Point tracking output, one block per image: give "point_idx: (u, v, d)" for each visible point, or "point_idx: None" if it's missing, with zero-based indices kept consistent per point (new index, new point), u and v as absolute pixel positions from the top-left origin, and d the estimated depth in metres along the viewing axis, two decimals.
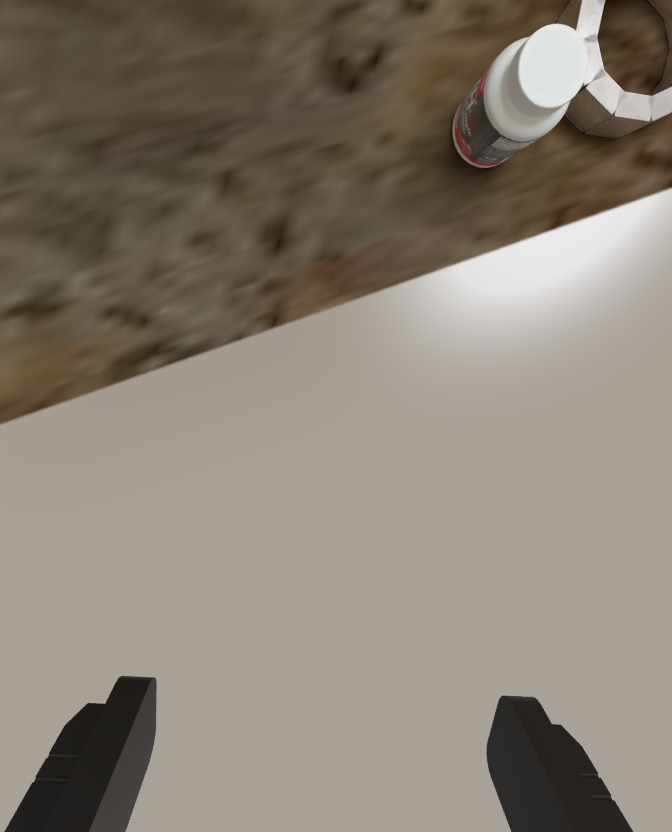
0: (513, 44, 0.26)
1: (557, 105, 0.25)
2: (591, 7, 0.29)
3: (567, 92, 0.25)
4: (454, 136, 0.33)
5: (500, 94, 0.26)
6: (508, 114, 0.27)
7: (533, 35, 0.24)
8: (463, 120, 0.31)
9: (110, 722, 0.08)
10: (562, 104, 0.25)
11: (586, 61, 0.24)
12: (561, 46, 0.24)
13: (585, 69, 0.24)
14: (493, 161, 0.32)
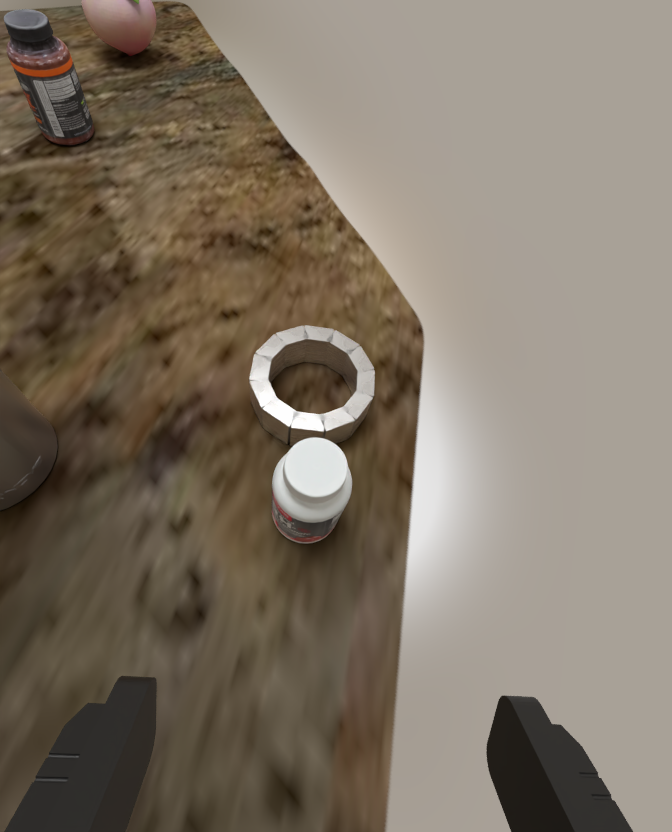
0: (274, 481, 0.29)
1: (346, 474, 0.27)
2: (275, 407, 0.36)
3: (340, 463, 0.28)
4: (297, 541, 0.34)
5: (305, 508, 0.28)
6: (324, 507, 0.28)
7: (286, 472, 0.27)
8: (294, 533, 0.32)
9: (110, 722, 0.08)
10: (347, 469, 0.27)
11: (326, 441, 0.28)
12: (306, 454, 0.27)
13: (331, 443, 0.28)
14: (337, 520, 0.34)
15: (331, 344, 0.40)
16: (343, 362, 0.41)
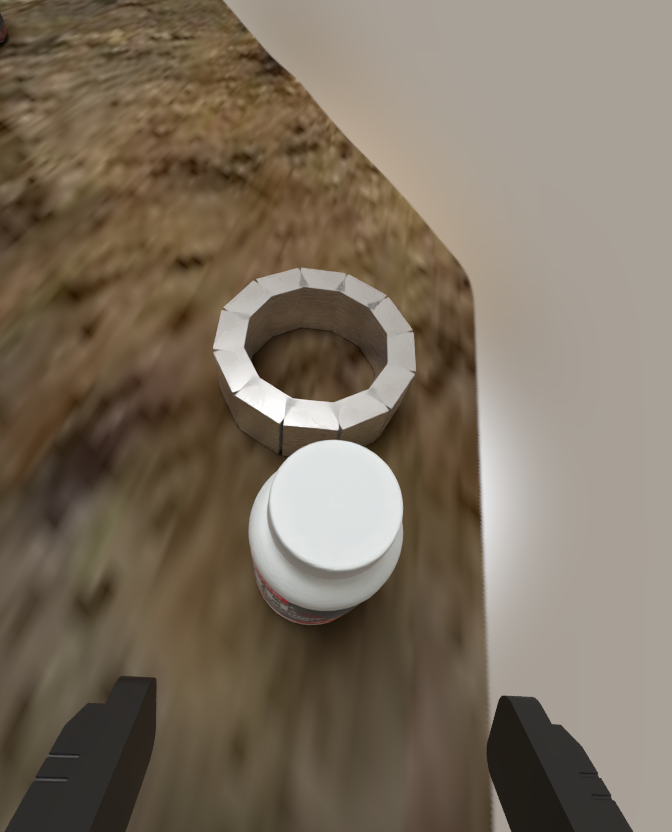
0: (252, 529, 0.15)
1: (400, 515, 0.13)
2: (256, 393, 0.21)
3: (387, 491, 0.13)
4: (299, 623, 0.19)
5: (316, 586, 0.14)
6: (354, 582, 0.14)
7: (273, 516, 0.12)
8: (294, 616, 0.18)
9: (110, 722, 0.08)
10: (401, 505, 0.13)
11: (355, 446, 0.14)
12: (314, 476, 0.13)
13: (366, 452, 0.14)
14: None
15: (343, 295, 0.26)
16: (362, 324, 0.26)
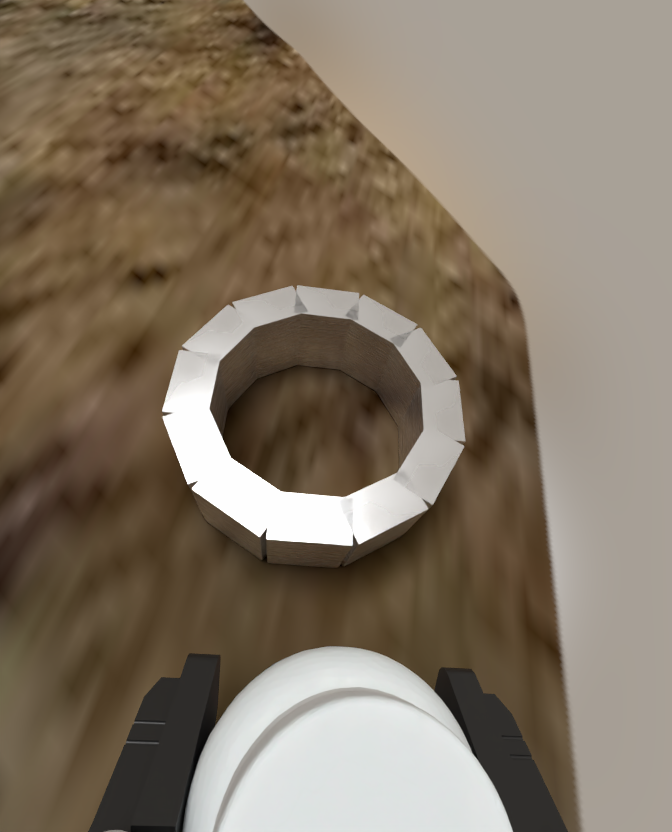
0: None
1: None
2: (225, 484, 0.14)
3: None
4: None
5: None
6: None
7: None
8: None
9: (188, 692, 0.09)
10: None
11: (407, 716, 0.06)
12: (315, 819, 0.05)
13: (432, 730, 0.06)
14: None
15: (356, 325, 0.18)
16: (382, 364, 0.19)
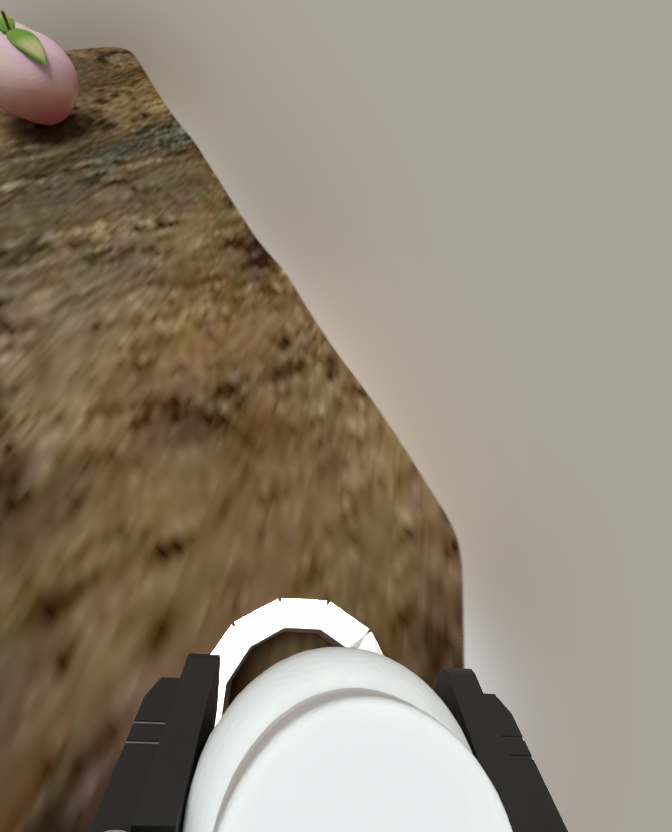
0: None
1: None
2: None
3: None
4: None
5: None
6: None
7: None
8: None
9: (188, 692, 0.09)
10: None
11: (407, 717, 0.06)
12: (315, 820, 0.05)
13: (432, 731, 0.06)
14: None
15: (324, 632, 0.25)
16: None
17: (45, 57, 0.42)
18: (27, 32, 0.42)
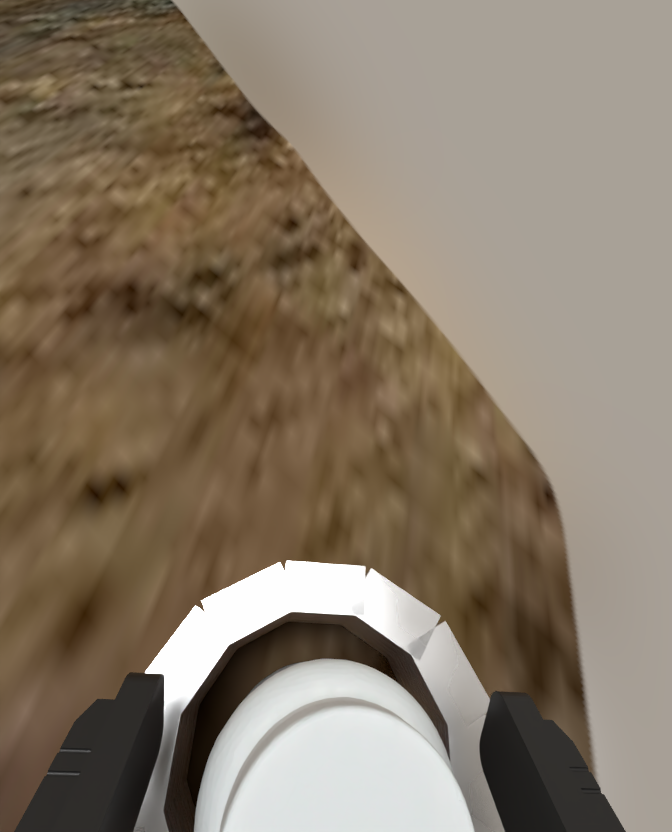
0: None
1: None
2: None
3: None
4: None
5: None
6: None
7: None
8: None
9: (120, 717, 0.08)
10: None
11: (385, 723, 0.07)
12: (307, 808, 0.07)
13: (405, 735, 0.07)
14: None
15: (362, 621, 0.14)
16: (394, 653, 0.15)
17: None
18: None
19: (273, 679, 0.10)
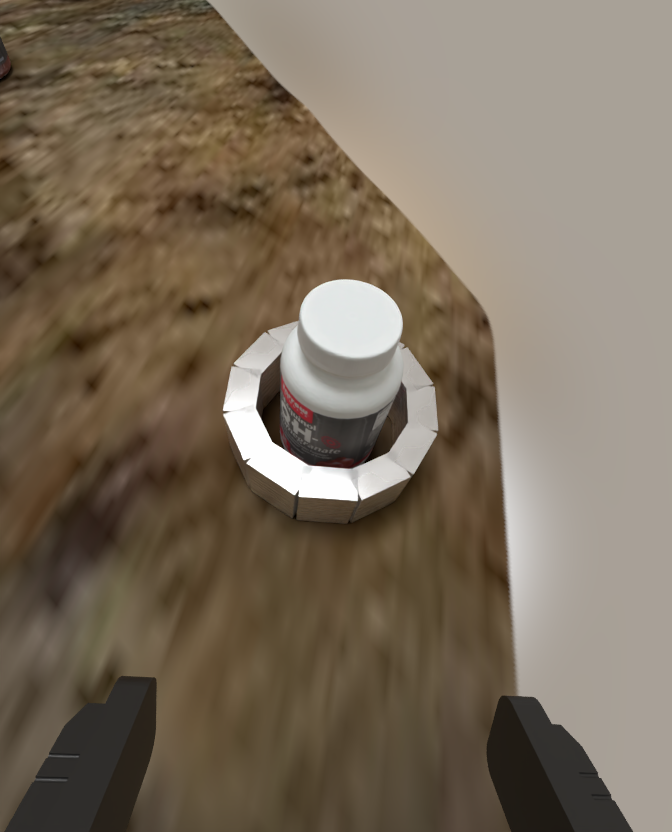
0: (284, 357, 0.19)
1: (401, 328, 0.17)
2: (269, 460, 0.20)
3: (390, 312, 0.17)
4: None
5: (335, 392, 0.18)
6: (365, 391, 0.18)
7: (303, 323, 0.16)
8: (315, 452, 0.21)
9: (110, 722, 0.08)
10: (401, 323, 0.17)
11: (365, 283, 0.18)
12: (334, 300, 0.17)
13: (374, 287, 0.18)
14: None
15: None
16: None
17: None
18: None
19: None
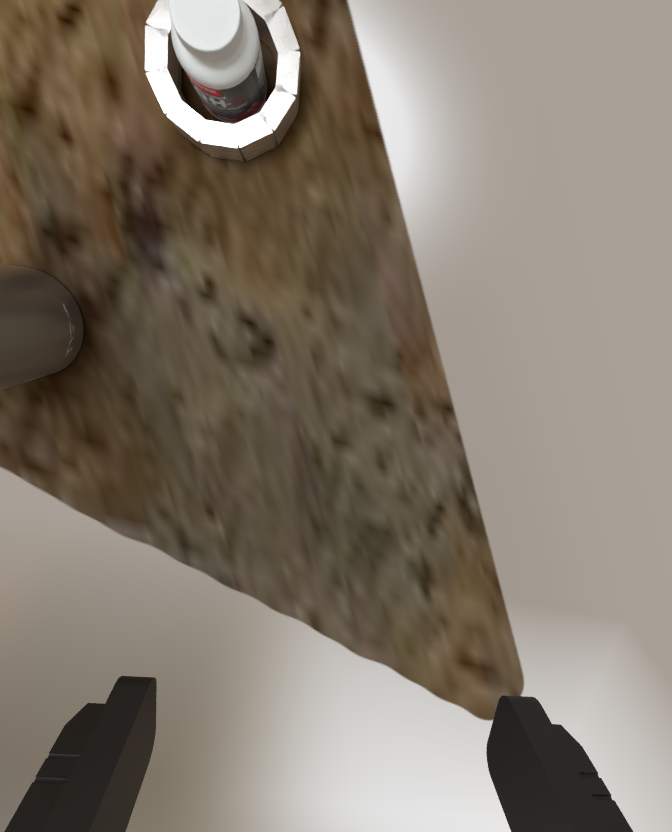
0: (180, 58, 0.28)
1: (237, 1, 0.25)
2: (211, 133, 0.32)
3: None
4: None
5: (224, 70, 0.28)
6: (240, 59, 0.27)
7: (181, 35, 0.25)
8: (233, 111, 0.32)
9: (110, 722, 0.08)
10: None
11: None
12: (187, 1, 0.25)
13: None
14: (265, 74, 0.32)
15: None
16: None
17: None
18: None
19: None
